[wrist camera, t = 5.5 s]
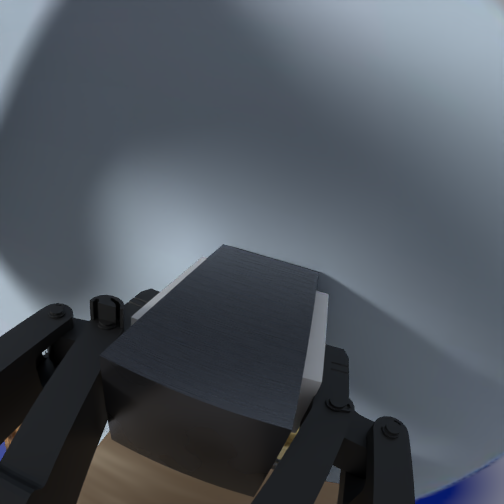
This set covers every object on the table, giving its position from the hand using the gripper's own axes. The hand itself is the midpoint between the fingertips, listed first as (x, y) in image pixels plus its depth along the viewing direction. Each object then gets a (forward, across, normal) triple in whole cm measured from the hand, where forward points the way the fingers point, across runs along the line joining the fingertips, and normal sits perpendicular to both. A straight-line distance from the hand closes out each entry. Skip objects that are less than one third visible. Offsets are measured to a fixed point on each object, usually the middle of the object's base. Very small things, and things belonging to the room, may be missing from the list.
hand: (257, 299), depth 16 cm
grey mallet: (+1, 0, -9) cm, 9 cm away
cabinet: (+1, +2, -17) cm, 17 cm away
